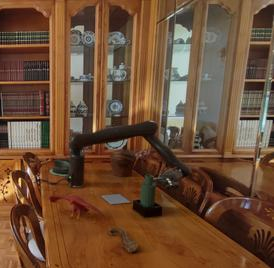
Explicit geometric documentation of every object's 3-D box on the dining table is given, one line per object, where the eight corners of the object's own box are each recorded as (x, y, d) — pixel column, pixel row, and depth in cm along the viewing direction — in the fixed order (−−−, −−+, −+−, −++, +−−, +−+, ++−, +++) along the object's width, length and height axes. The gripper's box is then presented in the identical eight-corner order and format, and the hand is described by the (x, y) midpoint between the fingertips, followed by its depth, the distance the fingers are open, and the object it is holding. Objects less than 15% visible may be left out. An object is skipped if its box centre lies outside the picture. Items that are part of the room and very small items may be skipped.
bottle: (145, 215, 108) (147, 178, 105) (137, 209, 114) (139, 174, 111) (156, 214, 109) (159, 177, 106) (148, 208, 115) (150, 173, 112)
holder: (144, 217, 106) (144, 208, 106) (132, 208, 115) (133, 199, 114) (161, 215, 108) (162, 206, 107) (148, 207, 117) (149, 198, 116)
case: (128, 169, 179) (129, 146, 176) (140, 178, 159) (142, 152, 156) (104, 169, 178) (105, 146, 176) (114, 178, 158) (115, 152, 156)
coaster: (111, 204, 120) (111, 204, 119) (101, 196, 130) (101, 195, 130) (130, 202, 121) (131, 202, 121) (119, 194, 132) (119, 193, 132)
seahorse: (119, 229, 97) (119, 225, 96) (142, 252, 82) (142, 247, 82) (107, 231, 96) (106, 227, 95) (128, 255, 81) (128, 250, 81)
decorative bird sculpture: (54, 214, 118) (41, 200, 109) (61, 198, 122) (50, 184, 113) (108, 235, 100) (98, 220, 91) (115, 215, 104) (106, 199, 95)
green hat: (79, 168, 180) (75, 177, 161) (58, 177, 187) (52, 186, 168) (70, 151, 180) (65, 157, 161) (49, 160, 187) (42, 168, 168)
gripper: (156, 168, 131) (143, 175, 121) (185, 174, 121) (173, 182, 110) (155, 181, 133) (142, 189, 122) (184, 188, 122) (172, 197, 111)
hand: (157, 185), depth 116 cm, fingers open, 8 cm apart
